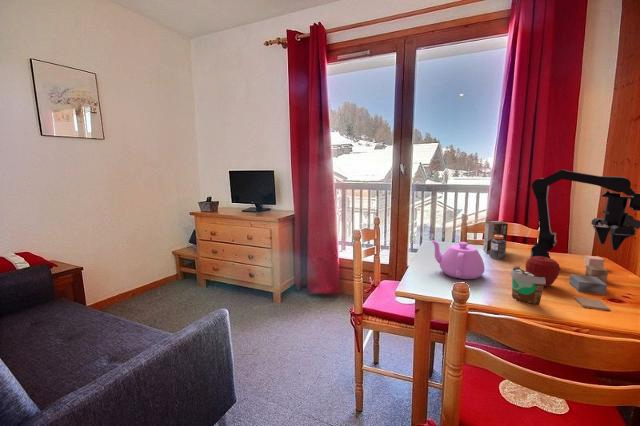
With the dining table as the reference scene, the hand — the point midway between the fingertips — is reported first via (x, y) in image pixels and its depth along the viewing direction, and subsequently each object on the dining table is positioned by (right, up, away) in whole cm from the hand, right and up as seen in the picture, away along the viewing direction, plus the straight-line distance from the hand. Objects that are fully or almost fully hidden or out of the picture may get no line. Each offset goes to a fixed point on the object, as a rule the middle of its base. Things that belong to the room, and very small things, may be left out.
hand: (608, 246), depth 123 cm
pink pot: (-59, -12, +7) cm, 61 cm away
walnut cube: (-6, -13, -1) cm, 15 cm away
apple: (-32, -14, -6) cm, 35 cm away
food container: (-47, -16, -18) cm, 53 cm away
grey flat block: (-17, -15, -9) cm, 24 cm away
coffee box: (-26, -7, +36) cm, 45 cm away
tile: (-26, -17, -22) cm, 38 cm away
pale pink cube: (+4, -11, +12) cm, 17 cm away
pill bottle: (-29, -9, +27) cm, 41 cm away
